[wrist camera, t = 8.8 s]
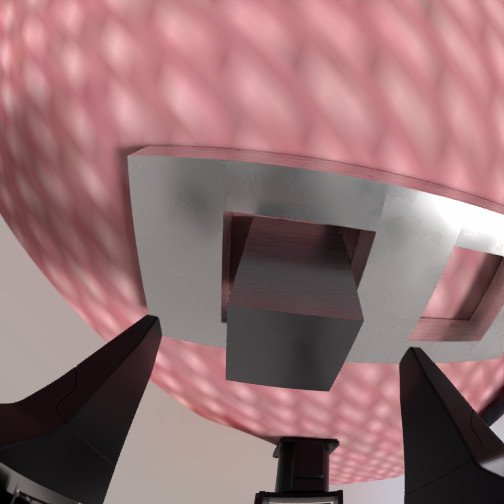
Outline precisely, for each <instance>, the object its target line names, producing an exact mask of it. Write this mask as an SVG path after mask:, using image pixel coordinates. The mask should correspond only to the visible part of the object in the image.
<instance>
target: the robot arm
mask: <svg viewBox="0 0 504 504" xmlns="http://www.w3.org/2000/svg"><path fill="white" fill-rule="evenodd" d="M161 338H162V330H161V325H160V320H159V317H157V316H154V315H146V316H144V317H143V318H142V319H140V320H139V321H137V322H136V323H135V324H133V325H132V326H130V327H129V328H128V329H126V330H125V331H124V332H122V333H121V334H119V335H118V336H117V337H115V338H114V339H113V340H111V341H110V342H108V343H107V344H106V345H104V346H103V347H102V348H100V349H99V350H97V351H96V352H95V353H93V354H92V355H91V356H89V357H88V358H86V359H85V360H84V361H82V362H81V363H80V364H78V365H77V367H74V368H73V369H71V370H70V371H69V372H67V373H66V374H65V375H63V376H61V377H60V378H59V379H57V380H55V381H54V382H52V383H51V384H49V385H47V386H46V387H44V388H42V389H41V390H39V391H37V392H35V393H34V394H32V395H30V396H28V397H27V398H25V399H23V400H21V401H18V402H15V403H9V404H0V504H79V503H81V504H103V502H104V499H105V496H106V493H107V490H108V487H109V484H110V481H111V478H112V476H113V473H114V470H115V466H116V464H117V461H118V458H119V456H120V453H121V450H122V447H123V445H124V442H125V439H126V437H127V434H128V431H129V429H130V426H131V424H132V421H133V418H134V416H135V413H136V411H137V408H138V406H139V403H140V400H141V398H142V396H143V393H144V391H145V388H146V386H147V383H148V381H149V378H150V376H151V373H152V370H153V366H154V363H155V359H156V355H157V352H158V348H159V345H160V342H161ZM399 372H400V405H401V416H402V427H403V442H404V465H405V496H404V504H504V443H503V442H502V441H501V440H500V439H499V438H498V437H497V436H496V435H495V433H494V432H493V431H492V430H491V429H490V428H489V427H488V426H487V425H486V424H485V422H484V421H483V420H482V419H481V418H480V416H479V415H478V414H477V413H476V412H475V410H474V409H472V407H471V406H470V404H469V403H468V402H467V401H466V399H465V398H464V397H463V396H462V395H461V393H460V392H459V391H458V390H457V389H456V387H455V386H454V385H453V384H452V383H451V382H450V380H449V379H448V378H447V377H446V376H445V375H444V373H443V372H442V371H441V370H440V369H439V368H438V367H437V365H436V364H435V363H434V362H433V361H432V360H431V359H430V358H429V356H428V355H427V354H426V353H425V352H424V351H423V350H422V349H421V348H420V347H415V346H411V347H409V348H408V349H407V351H406V353H405V354H404V356H403V357H402V359H401V361H400V364H399ZM338 446H339V441H337V440H303V439H288V438H282V439H280V441H279V443H278V445H277V447H276V449H275V451H274V453H273V457H274V458H279V460H278V469H277V478H276V486H275V492H265V491H260V492H259V493H256V495H255V503H254V504H269V502H277V503H312V502H313V503H314V502H332V501H334V503H333V504H343V490H338V491H333V492H328V491H329V455H330V454H331V453H332V452H333V451H334V450H335V449H336V448H337V447H338ZM325 504H331V503H325Z"/></svg>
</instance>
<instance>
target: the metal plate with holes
mask: <svg viewBox="0 0 504 504" xmlns="http://www.w3.org/2000/svg"><path fill="white" fill-rule="evenodd" d="M127 158H128V173H129V186H130V197H131V207H132V216H133V224H134V232H135V239H136V246H137V253H138V259H139V265H140V271H141V277H142V282H143V288H144V293H145V298H146V303H147V308H148V312H149V315H154V316H157V317H159V320H160V325H161V330H162V336H165V337H170V338H175V339H179V340H184V341H189V342H194V343H200V344H205V345H210V346H216V347H222V348H226V340H227V304H228V300H229V270H230V245H231V223H232V212H239V213H247V214H256V215H264V216H272V217H280V218H287V219H295V220H302V221H309V222H316V223H323V224H330V225H337V226H343V227H350V228H356V229H361V231H360V234H359V238H358V242H357V245H356V249H355V252H354V256H353V259H352V262H351V269H352V272H353V276H354V280H355V284H356V288H357V292H358V296H359V300H360V305H361V309H362V313H363V318H364V322H363V324H362V326H361V328H360V331H359V333H358V335H357V337H356V339H355V341H354V344H353V346H352V348H351V350H350V352H349V354H348V356H347V358H346V360H345V362H362V363H400V361H401V359H402V357H403V356H404V354H405V353H406V351H407V349H408V348H409V347H411V346H415V347H420V348H421V349H422V350H423V351H424V352H425V353H426V354H427V355H428V356H429V358H430V359H431V360H432V361H433V362H434V363H447V362H465V361H478V360H489V359H499V358H500V357H501V355H502V354H503V353H504V206H502V205H499V204H497V203H494V202H491V201H488V200H485V199H482V198H479V197H476V196H473V195H470V194H467V193H464V192H461V191H457V190H454V189H451V188H447V187H444V186H440V185H437V184H433V183H430V182H426V181H422V180H418V179H414V178H410V177H406V176H402V175H398V174H394V173H389V172H385V171H380V170H375V169H371V168H366V167H361V166H356V165H350V164H345V163H339V162H333V161H327V160H321V159H315V158H308V157H301V156H294V155H286V154H278V153H270V152H260V151H250V150H239V149H227V148H212V147H193V146H159V145H149V146H147V147H145V148H143V149H140V150H138V151H136V152H134V153H132V154H130V155H128V156H127ZM454 246H458V247H463V248H468V249H472V250H477V251H482V252H487V253H491V254H496V255H500V256H503V258H502V261H501V263H500V265H499V267H498V269H497V271H496V273H495V275H494V277H493V279H492V281H491V283H490V285H489V287H488V289H487V291H486V292H485V294H484V296H483V298H482V300H481V301H480V303H479V305H478V307H477V308H476V310H475V312H474V313H473V315H472V317H471V318H470V320H456V319H435V318H420V317H421V315H422V313H423V311H424V310H425V308H426V306H427V304H428V302H429V300H430V298H431V296H432V294H433V292H434V290H435V288H436V286H437V284H438V282H439V280H440V278H441V275H442V273H443V271H444V269H445V267H446V264H447V262H448V260H449V257H450V255H451V253H452V250H453V248H454Z"/></svg>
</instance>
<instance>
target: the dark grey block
mask: <svg viewBox="0 0 504 504" xmlns="http://www.w3.org/2000/svg"><path fill="white" fill-rule="evenodd" d="M363 322H364V318H363V313H362V309H361V305H360V300H359V296H358V292H357V288H356V284H355V280H354V276H353V272H352V269H351V265H350V261H349V258H348V254H347V250H346V247H345V243H344V240H343V237H342V233H341V230H340V228H338V227H331V226H324V225H317V224H310V223H303V222H296V221H288V220H281V219H273V218H265V217H257V216H254V217H253V220H252V223H251V227H250V230H249V233H248V237H247V240H246V243H245V247H244V250H243V253H242V257H241V260H240V263H239V267H238V270H237V273H236V277H235V280H234V283H233V287H232V290H231V294H230V297H229V300H228V304H227V340H226V380H231V381H237V382H243V383H250V384H257V385H265V386H273V387H281V388H291V389H302V390H314V391H329V390H330V388H331V387H332V385H333V383H334V381H335V379H336V377H337V375H338V373H339V372H340V370H341V368H342V366H343V364H344V362H345V360H346V358H347V356H348V354H349V352H350V350H351V348H352V346H353V344H354V341H355V339H356V337H357V335H358V333H359V331H360V328H361V326H362V324H363Z"/></svg>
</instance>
